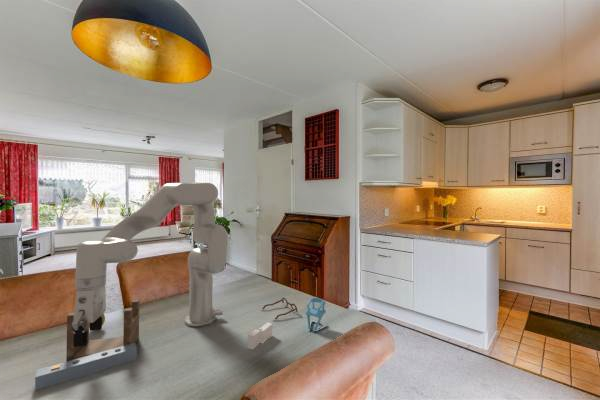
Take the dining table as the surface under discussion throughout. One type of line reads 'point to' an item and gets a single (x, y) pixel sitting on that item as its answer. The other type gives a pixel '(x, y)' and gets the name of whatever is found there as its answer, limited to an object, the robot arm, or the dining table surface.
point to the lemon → (102, 320)
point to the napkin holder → (259, 335)
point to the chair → (315, 311)
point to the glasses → (287, 305)
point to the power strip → (84, 365)
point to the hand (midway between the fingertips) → (88, 337)
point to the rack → (109, 343)
